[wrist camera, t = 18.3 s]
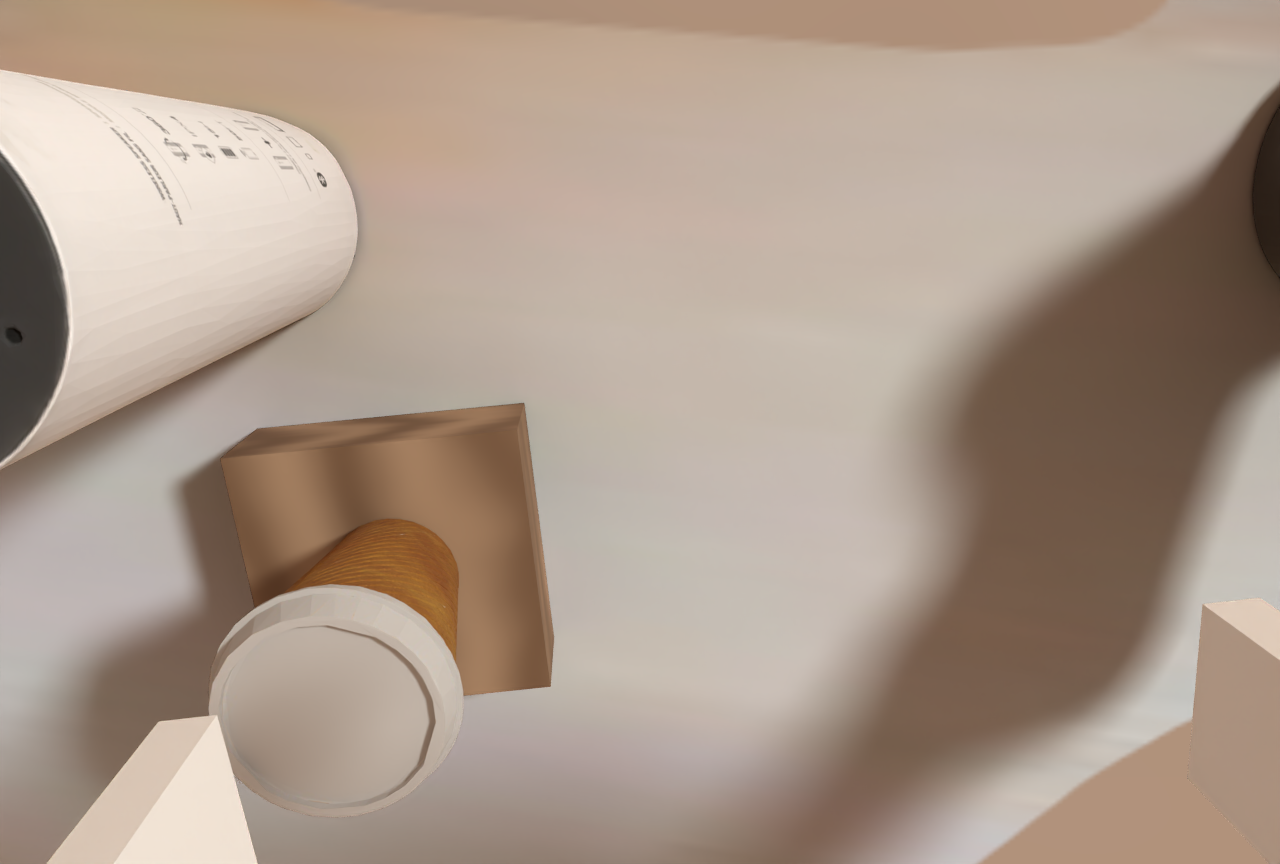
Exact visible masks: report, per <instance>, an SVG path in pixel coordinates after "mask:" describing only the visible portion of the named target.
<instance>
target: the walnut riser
mask: <svg viewBox="0 0 1280 864" xmlns="http://www.w3.org/2000/svg"><path fill="white" fill-rule="evenodd" d="M220 460H221V465H222V469H223V473H224V478H225V482H226V486H227V490H228V495H229V499H230V503H231V508H232V512H233V516H234V520H235V525H236V529H237V533H238V538H239V542H240V546H241V550H242V555H243V559H244V563H245V568H246V572H247V576H248V580H249V585H250V589H251V593H252V598H253V602H254V606H255V608H256V607H257V606H259V605H260V604H262V603H264V602H266V601H268V600H270V599H272V598H274V597H276V596H278V595H281V594H283V593H284V592H285V591H286V590H287V589H289V588H290V587H291V586H292V585H293V584H294V583H295V582H297V581H298V580H299V579H300V578H301V577H302V576H303V575H304V574H306V573H307V572H308V571H309V570H310V569H311V568H312V567H313V566H314V565H316V564H317V563H318V562H319V561H320V560H321V559H322V558H323V557H324V556H325V555H327V554H328V553H329V552H330V551H331V550H332V549H333V548H334V547H335V546H336V545H337V544H339V543H340V542H341V541H342V540H343V539H344V538H345V537H346V536H347V535H348V534H349V533H350V532H352V531H353V530H355V529H356V528H358V527H360V526H361V525H364V524H367V523H369V522H372V521H375V520H381V519H402V520H407V521H412V522H415V523H417V524H420V525H422V526H424V527H426V528H428V529H429V530H431V531H432V532H434V533H435V534H437V535H438V536H439V537H440V538H441V539H442V540H443V541H444V542H445V544H446V545H447V546H448V548H449V549H450V550H451V552H452V554H453V556H454V558H455V561H456V563H457V567H458V572H459V588H458V618H457V621H458V623H457V646H456V665H457V668H458V670H459V673H460V678H461V682H462V687H463V696H465V695H475V694H484V693H494V692H503V691H513V690H522V689H532V688H541V687H551V673H552V659H553V646H554V634H553V626H552V618H551V610H550V602H549V594H548V586H547V578H546V571H545V563H544V555H543V547H542V539H541V531H540V523H539V515H538V508H537V500H536V492H535V484H534V476H533V468H532V460H531V452H530V444H529V437H528V429H527V421H526V413H525V405H524V403H519V404H509V405H498V406H488V407H478V408H467V409H457V410H446V411H436V412H426V413H415V414H405V415H394V416H384V417H374V418H363V419H353V420H342V421H332V422H322V423H311V424H301V425H291V426H280V427H270V428H259V429H256V430H255V431H254V432H253V433H251V434H250V435H249V436H248V437H247V438H245V439H244V440H243V441H242V442H240V443H239V444H238V445H237V446H235V447H234V448H233V449H232V450H230V451H229V452H228V453H227V454H225V455H224V456H223V457H222V458H220Z"/></svg>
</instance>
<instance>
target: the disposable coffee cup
mask: <svg viewBox="0 0 1280 864" xmlns="http://www.w3.org/2000/svg"><path fill="white" fill-rule="evenodd" d="M458 588H459V572H458V567H457V563H456V561H455V558H454V556H453V554H452V552H451V550H450V549H449V548H448V546H447V545H446V544H445V542H444V541H443V540H442V539H441V538H440V537H439V536H438V535H437V534H435V533H434V532H432V531H431V530H429V529H428V528H426V527H424V526H422V525H420V524H417V523H415V522H412V521H407V520H402V519H381V520H375V521H372V522H369V523H367V524H364V525H361V526H360V527H358V528H356V529H355V530H353V531H352V532H350V533H349V534H348V535H347V536H346V537H345V538H344V539H343V540H342V541H341V542H340V543H339V544H337V545H336V546H335V547H334V548H333V549H332V550H331V551H330V552H329V553H328V554H327V555H325V556H324V557H323V558H322V559H321V560H320V561H319V562H318V563H317V564H316V565H314V566H313V567H312V568H311V569H310V570H309V571H308V572H307V573H306V574H304V575H303V576H302V577H301V578H300V579H299V580H298V581H297V582H295V583H294V584H293V585H292V586H291V587H290V588H289V589H287V590H286V591H285V592H284V593H283V594H281V595H278V596H276V597H274V598H272V599H270V600H268V601H266V602H264V603H262V604H260V605H259V606H257V607H256V608H255V609H253V610H252V611H251V612H249V613H248V614H246V615H245V616H244V617H243V618H242V619H241V620H239V621H238V622H237V623H236V624H235V625H234V627H233V628H232V630H231V631H230V632H229V634H228V635H227V636H226V638H225V639H224V640H223V642H222V643H221V644H220V646H219V649H218V651H217V654H216V656H215V659H214V661H213V664H212V666H211V671H210V680H209V689H208V694H209V707H208V709H209V716H212V715H217V717H218V720H219V724H220V728H221V731H222V735H223V739H224V742H225V746H226V750H227V753H228V757H229V760H230V764H231V768H232V771H233V773H234V775H235V776H236V777H237V778H238V779H239V780H240V781H241V782H242V783H244V784H245V785H246V786H247V787H248V788H249V789H250V790H252V791H253V792H254V793H256V794H258V795H259V796H261V797H262V798H264V799H266V800H267V801H269V802H271V803H273V804H276V805H278V806H280V807H282V808H285V809H288V810H292V811H295V812H298V813H302V814H305V815H309V816H322V817H336V818H338V817H348V816H358V815H362V814H366V813H369V812H373V811H376V810H380V809H383V808H385V807H387V806H389V805H391V804H393V803H395V802H397V801H399V800H400V799H402V798H403V797H405V796H406V795H408V794H409V793H411V792H412V791H413V790H414V789H415V788H416V787H417V786H418V785H419V784H420V783H421V782H422V781H423V780H424V779H426V778H427V777H428V776H429V775H430V774H431V773H433V772H434V771H435V770H436V769H437V768H438V767H439V765H440V764H441V763H442V761H443V760H444V759H445V758H446V756H447V755H448V754H449V752H450V750H451V748H452V746H453V744H454V743H455V741H456V739H457V736H458V732H459V729H460V726H461V722H462V717H463V687H462V682H461V678H460V673H459V670H458V668H457V665H456V646H457V623H458V621H457V618H458Z"/></svg>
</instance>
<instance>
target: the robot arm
mask: <svg viewBox="0 0 1280 864" xmlns="http://www.w3.org/2000/svg"><path fill="white" fill-rule="evenodd" d="M1253 206H1254V217H1255V224H1256V229H1257V233H1258V237H1259V240H1260V243H1261V246H1262V249H1263V251H1264V253H1265V255H1266V257H1267V259H1268V261H1269V263H1270V265H1271V266H1272V268H1273V269H1274V271H1275V272H1276V274H1277V275H1278V276H1279V277H1280V107H1279V109H1278V111H1277V112H1276V114H1275V116H1274V118H1273V120H1272V122H1271V124H1270V127H1269V129H1268V131H1267V134H1266V136H1265V139H1264V142H1263V145H1262V148H1261V151H1260V155H1259V158H1258V163H1257V167H1256V173H1255V180H1254V191H1253ZM1187 779H1188V780H1189V781H1190V782H1191V783H1192V784H1193V785H1194V786H1195V787H1196V788H1197V789H1198V790H1199V791H1200V792H1201V793H1202V794H1203V795H1204V796H1205V797H1206V798H1207V800H1208V801H1209V802H1210V803H1211V804H1212V805H1213V806H1214V807H1215V808H1216V809H1217V810H1218V811H1219V812H1220V813H1221V814H1222V815H1223V816H1224V817H1225V818H1226V819H1227V820H1228V821H1229V823H1230V824H1231V825H1232V826H1233V827H1234V828H1235V829H1236V830H1237V831H1238V832H1239V833H1240V834H1241V835H1242V836H1243V837H1244V838H1245V839H1246V840H1247V841H1248V842H1249V843H1250V844H1251V845H1252V847H1253V848H1254V849H1255V850H1256V851H1257V852H1258V853H1259V854H1260V855H1261V856H1262V857H1263V858H1264V859H1265V860H1266V861H1267V862H1268V863H1269V864H1280V611H1279V610H1277V609H1276V608H1274V607H1273V606H1271V605H1270V604H1268V603H1267V602H1265V601H1264V600H1262V599H1261V598H1253V599H1244V600H1235V601H1226V602H1217V603H1208V604H1203V607H1202V618H1201V629H1200V640H1199V652H1198V663H1197V674H1196V685H1195V697H1194V708H1193V719H1192V730H1191V742H1190V753H1189V764H1188V775H1187ZM46 864H258V863H257V859H256V856H255V852H254V848H253V845H252V841H251V837H250V834H249V830H248V826H247V823H246V819H245V815H244V812H243V808H242V804H241V801H240V797H239V793H238V790H237V786H236V782H235V779H234V775H233V771H232V768H231V764H230V760H229V757H228V753H227V750H226V746H225V742H224V739H223V735H222V731H221V728H220V724H219V720H218V717H217V715H212V716H203V717H194V718H185V719H176V720H167V721H159V722H158V723H157V724H156V725H155V727H154V728H153V729H152V731H151V732H150V733H149V734H148V736H147V737H146V738H145V739H144V741H143V742H142V743H141V744H140V746H139V747H138V748H137V749H136V751H135V752H134V753H133V755H132V756H131V757H130V758H129V760H128V761H127V762H126V763H125V765H124V766H123V767H122V768H121V770H120V771H119V772H118V773H117V775H116V776H115V777H114V779H113V780H112V781H111V782H110V784H109V785H108V786H107V787H106V789H105V790H104V791H103V792H102V794H101V795H100V796H99V798H98V799H97V800H96V801H95V803H94V804H93V805H92V806H91V808H90V809H89V810H88V811H87V813H86V814H85V815H84V816H83V818H82V819H81V820H80V822H79V823H78V824H77V825H76V827H75V828H74V829H73V830H72V832H71V833H70V834H69V835H68V837H67V838H66V839H65V840H64V842H63V843H62V844H61V846H60V847H59V848H58V849H57V851H56V852H55V853H54V854H53V856H52V857H51V858H50V859H49V861H48V862H47V863H46Z"/></svg>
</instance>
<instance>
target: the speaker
mask: <svg viewBox="0 0 1280 864" xmlns="http://www.w3.org/2000/svg"><path fill="white" fill-rule="evenodd" d="M357 236H358V225H357V213H356V208H355V203H354V199H353V195H352V191H351V189H350V186H349V184H348V182H347V180H346V178H345V176H344V174H343V172H342V170H341V168H340V166H339V164H338V162H337V161H336V159H335V158H334V157H333V155H332V154H331V153H330V152H329V151H328V149H327V148H326V147H325V146H324V145H323V144H321V143H320V142H319V141H318V140H317V139H315V138H314V137H313V136H312V135H310V134H309V133H307V132H305V131H303V130H301V129H299V128H298V127H295V126H293V125H291V124H288V123H286V122H284V121H281V120H279V119H276V118H273V117H270V116H267V115H262V114H258V113H253V112H249V111H244V110H238V109H233V108H227V107H222V106H216V105H210V104H204V103H198V102H192V101H185V100H179V99H173V98H167V97H161V96H155V95H149V94H144V93H137V92H131V91H125V90H118V89H112V88H106V87H100V86H93V85H87V84H81V83H75V82H69V81H64V80H58V79H52V78H46V77H40V76H34V75H29V74H23V73H17V72H11V71H5V70H0V470H1V469H3V468H5V467H7V466H9V465H11V464H13V463H15V462H17V461H19V460H21V459H22V458H24V457H26V456H28V455H30V454H32V453H34V452H36V451H38V450H40V449H42V448H44V447H46V446H48V445H50V444H52V443H54V442H56V441H58V440H60V439H62V438H64V437H66V436H68V435H70V434H72V433H73V432H75V431H77V430H79V429H81V428H83V427H85V426H87V425H89V424H91V423H93V422H95V421H97V420H99V419H101V418H103V417H105V416H107V415H109V414H111V413H113V412H115V411H117V410H119V409H121V408H123V407H125V406H127V405H129V404H131V403H133V402H135V401H137V400H139V399H141V398H143V397H145V396H147V395H149V394H151V393H153V392H155V391H157V390H159V389H161V388H163V387H165V386H167V385H169V384H171V383H173V382H175V381H177V380H179V379H181V378H183V377H185V376H187V375H189V374H191V373H193V372H195V371H197V370H199V369H201V368H203V367H205V366H207V365H209V364H211V363H213V362H215V361H217V360H219V359H221V358H223V357H225V356H227V355H229V354H231V353H233V352H235V351H237V350H239V349H241V348H243V347H245V346H247V345H249V344H251V343H253V342H255V341H257V340H259V339H261V338H263V337H265V336H267V335H269V334H271V333H273V332H275V331H277V330H279V329H281V328H283V327H285V326H287V325H289V324H291V323H293V322H295V321H297V320H299V319H301V318H303V317H306V316H308V315H309V314H311V313H313V312H315V311H317V310H318V309H319V308H321V307H322V306H323V305H324V304H326V303H327V302H328V301H329V300H330V299H331V298H332V297H333V295H334V294H335V293H336V292H337V291H338V289H339V288H340V286H341V285H342V283H343V281H344V280H345V278H346V276H347V274H348V272H349V270H350V267H351V264H352V261H353V259H354V257H355V250H356V245H357Z"/></svg>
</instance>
